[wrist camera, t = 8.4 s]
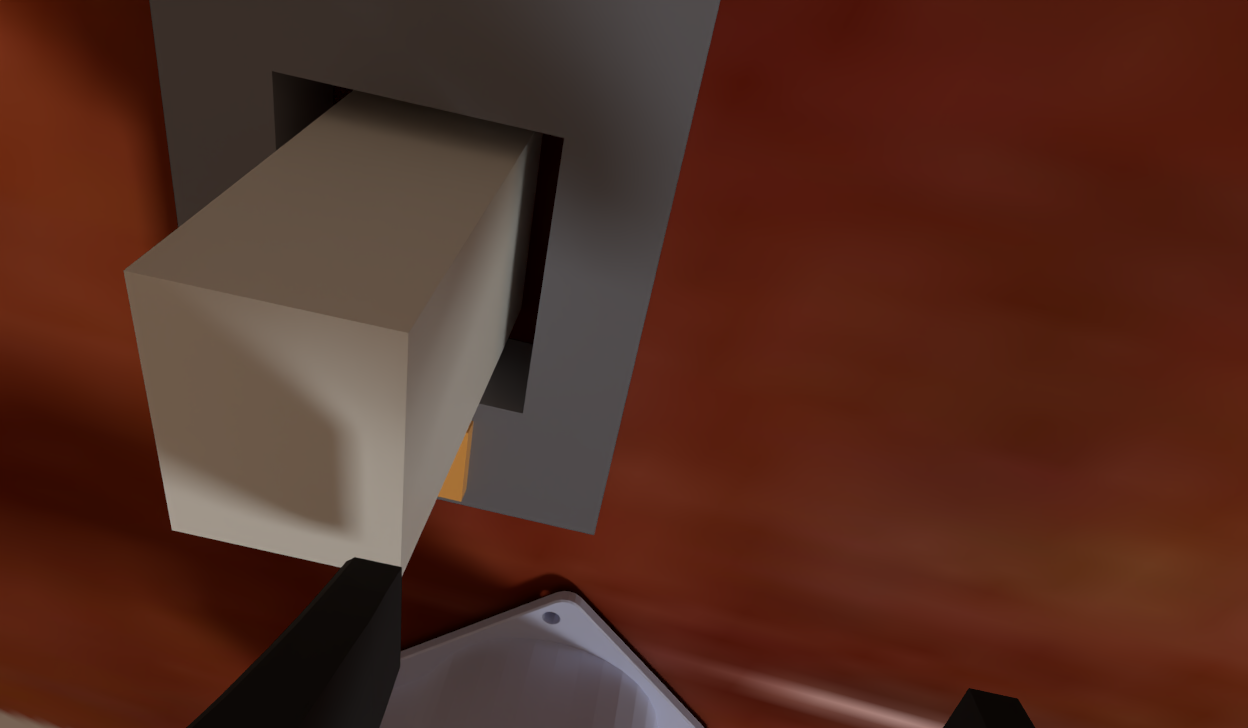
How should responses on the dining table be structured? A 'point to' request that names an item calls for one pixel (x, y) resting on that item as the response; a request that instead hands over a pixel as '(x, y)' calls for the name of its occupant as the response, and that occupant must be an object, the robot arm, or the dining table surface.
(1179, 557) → the dining table surface
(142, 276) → the plug
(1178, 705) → the dining table surface
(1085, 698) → the dining table surface
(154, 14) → the power strip
